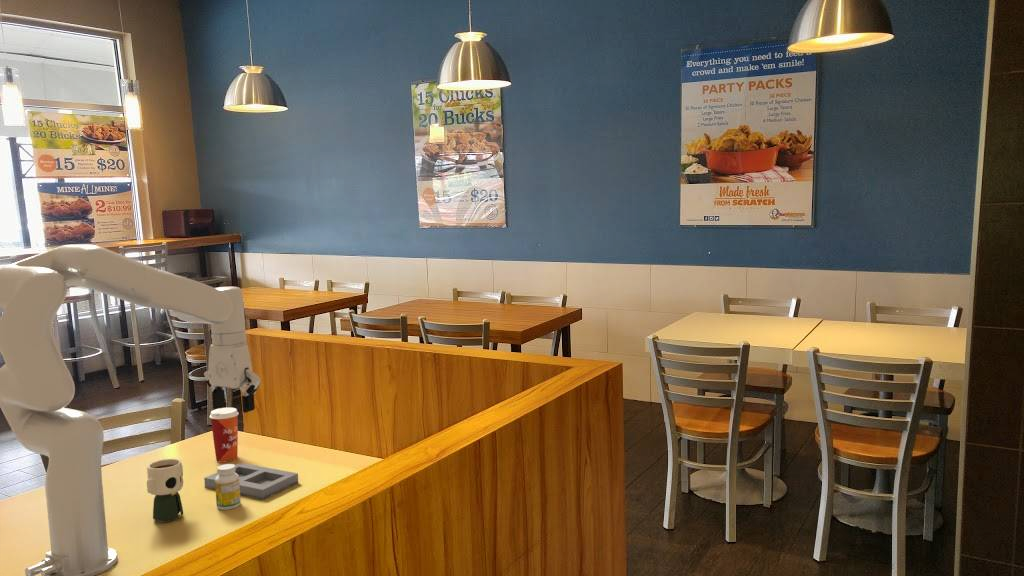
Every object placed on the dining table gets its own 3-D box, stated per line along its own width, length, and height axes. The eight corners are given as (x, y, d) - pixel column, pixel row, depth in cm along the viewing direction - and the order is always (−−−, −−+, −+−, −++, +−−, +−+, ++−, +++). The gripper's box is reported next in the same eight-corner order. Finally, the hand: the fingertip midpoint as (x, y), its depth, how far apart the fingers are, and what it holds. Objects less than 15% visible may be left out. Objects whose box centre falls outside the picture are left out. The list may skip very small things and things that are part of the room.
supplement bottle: (240, 508, 171) (237, 469, 169) (215, 511, 169) (212, 472, 168) (241, 500, 176) (239, 461, 175) (217, 503, 174) (215, 464, 173)
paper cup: (231, 464, 201) (228, 414, 200) (206, 462, 203) (203, 413, 201) (247, 454, 209) (244, 407, 207) (223, 453, 210) (220, 406, 209)
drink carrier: (263, 499, 175) (262, 489, 175) (204, 487, 184) (204, 477, 184) (298, 482, 186) (297, 473, 186) (241, 471, 195) (240, 462, 195)
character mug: (164, 530, 160) (160, 473, 158) (137, 527, 161) (133, 470, 160) (197, 510, 170) (194, 456, 169) (171, 507, 172) (167, 454, 170)
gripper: (190, 339, 173) (195, 409, 175) (243, 344, 165) (248, 417, 167) (215, 334, 179) (220, 401, 181) (268, 338, 172) (272, 408, 174)
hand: (233, 409), depth 174 cm, fingers open, 9 cm apart
